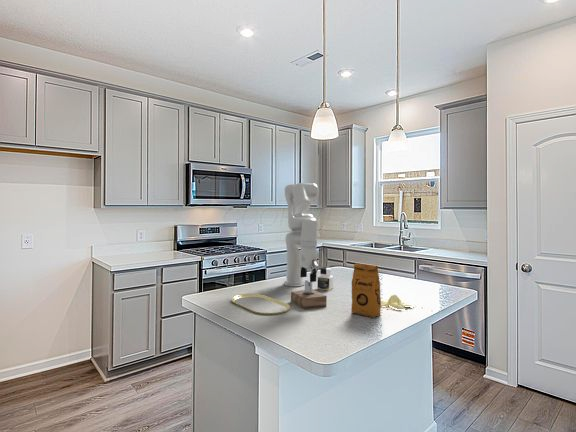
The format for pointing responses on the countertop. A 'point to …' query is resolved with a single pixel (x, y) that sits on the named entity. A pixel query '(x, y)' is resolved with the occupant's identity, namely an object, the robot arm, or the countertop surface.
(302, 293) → the bore block
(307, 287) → the pin
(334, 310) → the countertop surface
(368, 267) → the coffee package
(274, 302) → the wavy rubber band
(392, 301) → the cloth
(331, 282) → the medicine bottle
